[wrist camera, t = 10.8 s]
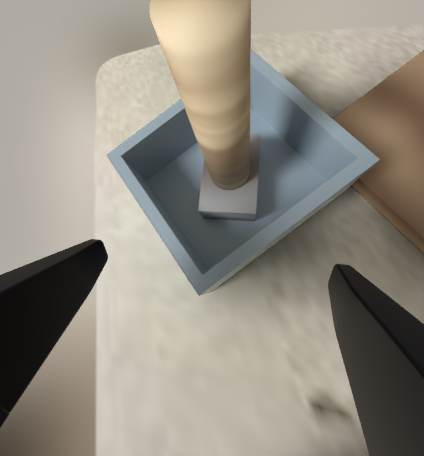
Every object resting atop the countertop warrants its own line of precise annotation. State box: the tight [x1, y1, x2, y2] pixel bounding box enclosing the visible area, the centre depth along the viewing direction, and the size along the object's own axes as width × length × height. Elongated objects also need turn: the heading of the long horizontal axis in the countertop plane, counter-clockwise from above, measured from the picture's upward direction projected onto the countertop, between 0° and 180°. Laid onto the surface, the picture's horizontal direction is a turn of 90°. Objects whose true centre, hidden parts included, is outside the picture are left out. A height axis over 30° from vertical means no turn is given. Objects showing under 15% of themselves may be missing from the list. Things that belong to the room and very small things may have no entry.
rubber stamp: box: [149, 0, 261, 221], centre depth 12 cm, size 6×4×12 cm, turn 174°
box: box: [107, 49, 380, 296], centre depth 16 cm, size 13×12×4 cm
